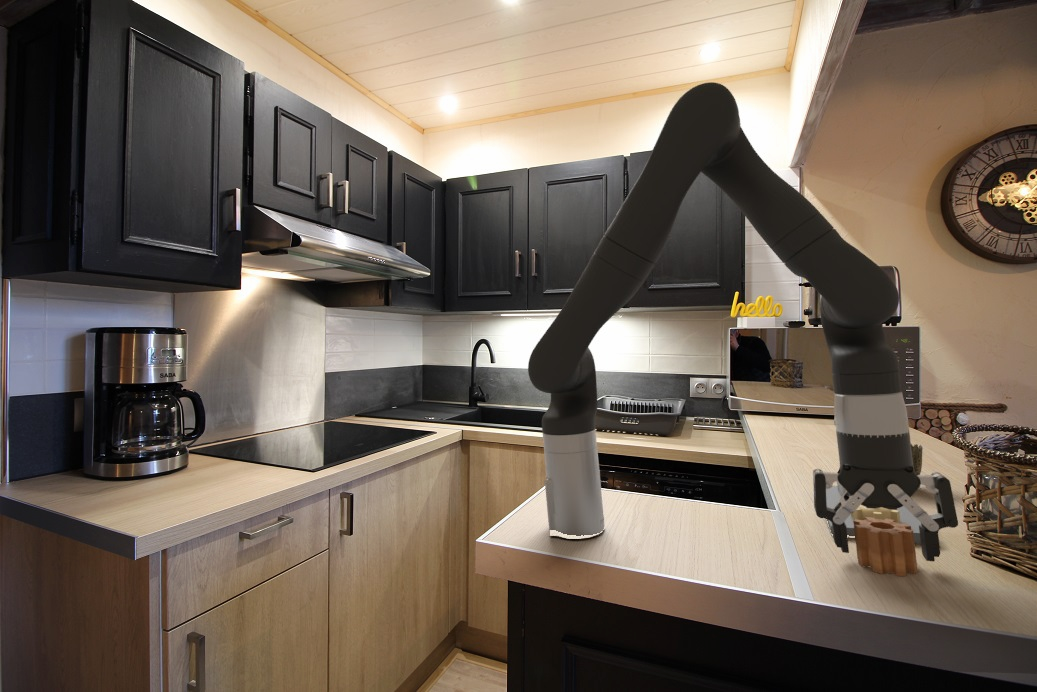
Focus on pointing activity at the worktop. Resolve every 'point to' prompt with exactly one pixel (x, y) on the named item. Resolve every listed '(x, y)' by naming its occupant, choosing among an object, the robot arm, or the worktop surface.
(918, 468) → the cup
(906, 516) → the gear board
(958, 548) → the worktop surface
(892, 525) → the idler gear
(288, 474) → the worktop surface
